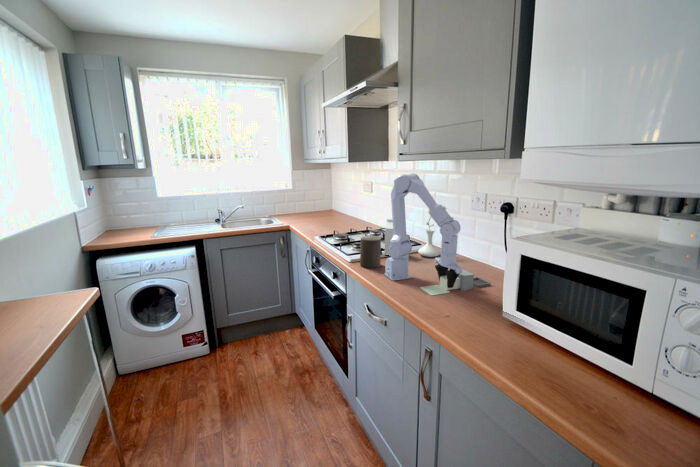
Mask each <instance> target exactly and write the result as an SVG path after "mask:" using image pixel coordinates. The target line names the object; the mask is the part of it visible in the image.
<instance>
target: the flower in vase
mask: <svg viewBox="0 0 700 467" xmlns="http://www.w3.org/2000/svg"><path fill="white" fill-rule="evenodd" d="M427 211H428V213H429V212H430V209H429V208H428V209H427ZM429 216H430V217H429V219H428V221H426V225H427V226H428V228H426V229H425V232H426V234H427V242H426V244H425V245H423V246H421V247H420V248H419V249H418V251H417V253H418V254H419V255H421V256H423V257H428V258H431V257H433V258H434V257H437V256H438V257H439V255H441V250H439V248H437V247H436V246H435V245H434V244H433V235H434V233H435V232H436V229H433V228H431V227H433V226H435V224H432V225H430V220H431V218H432V217H431V215H430V214H429Z"/></svg>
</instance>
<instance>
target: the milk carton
mask: <svg viewBox="0 0 700 467" xmlns="http://www.w3.org/2000/svg"><path fill="white" fill-rule="evenodd" d="M392 237H393V219H386V222H385V226H384V253H383V254H386V255H389V256H388V257H391V255H390V253H389V247H390V241H391V239H392Z"/></svg>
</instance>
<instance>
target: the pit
mask: <svg viewBox="0 0 700 467" xmlns="http://www.w3.org/2000/svg"><path fill="white" fill-rule="evenodd" d="M488 286H491V282H489V281H487V280H485V279H483V278H482V277H479V276H475V277H474V279H473V287H476V288H482V287H488Z"/></svg>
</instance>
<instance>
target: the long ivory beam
mask: <svg viewBox="0 0 700 467" xmlns="http://www.w3.org/2000/svg"><path fill="white" fill-rule="evenodd" d="M439 285H440V287H442V288H444V289H445V290H448V291H450V290H456V289H460V285H461V277H459V276H458V277H457V279H456V281H455V283H454V286H453V287H452V288H448V286H447V275H446V276H441V277H440V281H439Z"/></svg>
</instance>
